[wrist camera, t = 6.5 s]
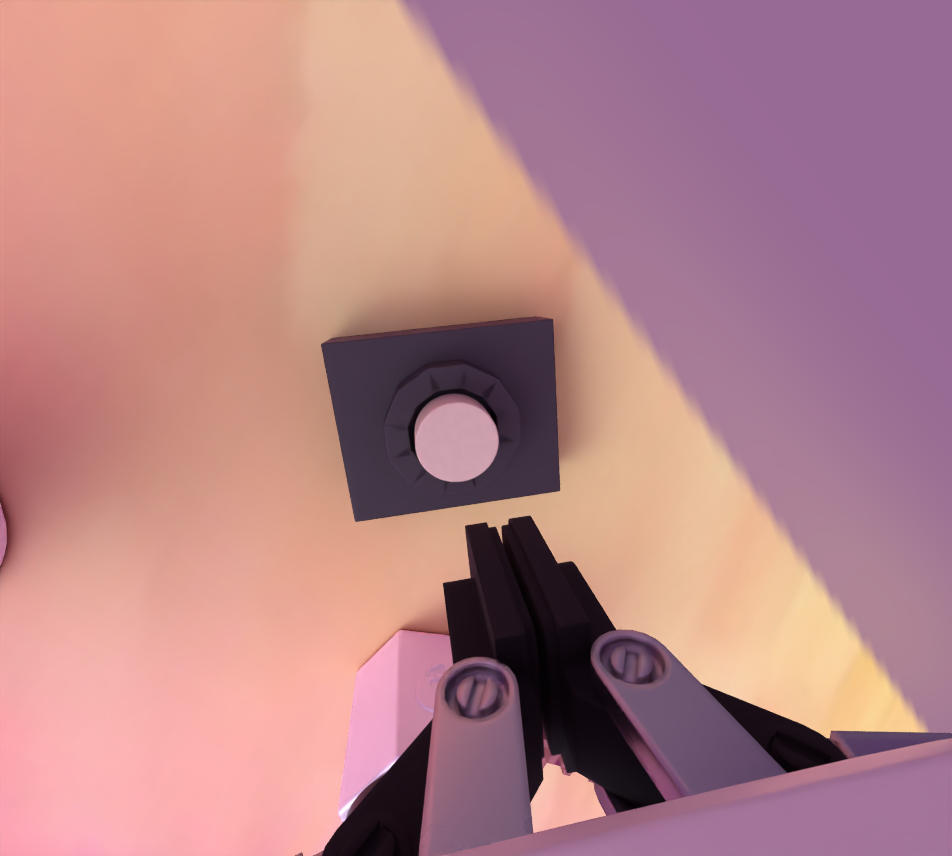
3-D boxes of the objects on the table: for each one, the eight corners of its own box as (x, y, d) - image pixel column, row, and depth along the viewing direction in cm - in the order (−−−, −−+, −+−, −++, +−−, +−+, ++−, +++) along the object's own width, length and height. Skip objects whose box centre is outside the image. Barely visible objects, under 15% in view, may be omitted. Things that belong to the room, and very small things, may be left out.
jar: (492, 635, 33) (537, 816, 21) (464, 723, 35) (492, 932, 23) (368, 621, 31) (345, 811, 20) (346, 715, 33) (314, 937, 21)
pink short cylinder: (419, 472, 24) (420, 488, 22) (409, 398, 22) (409, 408, 20) (494, 461, 24) (502, 476, 22) (488, 388, 23) (495, 397, 21)
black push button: (360, 498, 28) (351, 538, 24) (330, 338, 25) (313, 347, 21) (544, 471, 30) (571, 504, 25) (536, 316, 27) (564, 320, 22)
